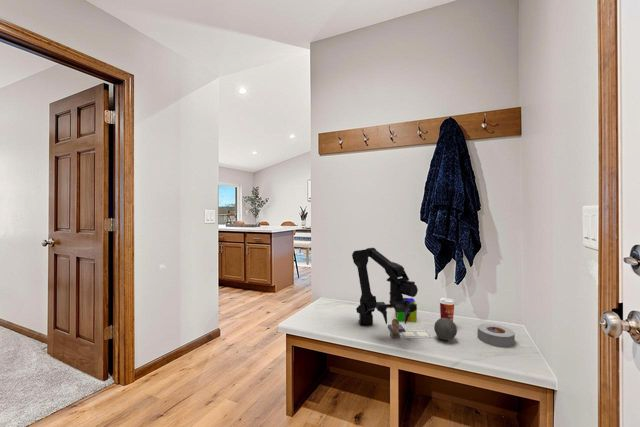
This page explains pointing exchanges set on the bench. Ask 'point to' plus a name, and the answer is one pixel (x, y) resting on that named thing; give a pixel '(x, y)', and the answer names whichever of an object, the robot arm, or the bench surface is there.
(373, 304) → the robot arm
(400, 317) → the puzzle toy
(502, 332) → the tape roll
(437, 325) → the decorative ball
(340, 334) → the bench surface
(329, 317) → the bench surface
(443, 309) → the paper cup
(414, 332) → the print card
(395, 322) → the stamp
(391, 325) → the ink pad
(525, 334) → the bench surface
